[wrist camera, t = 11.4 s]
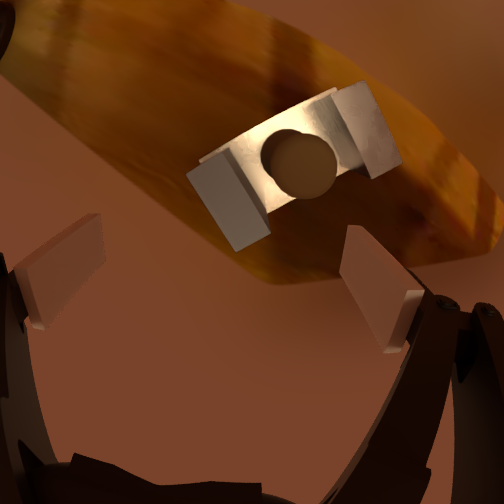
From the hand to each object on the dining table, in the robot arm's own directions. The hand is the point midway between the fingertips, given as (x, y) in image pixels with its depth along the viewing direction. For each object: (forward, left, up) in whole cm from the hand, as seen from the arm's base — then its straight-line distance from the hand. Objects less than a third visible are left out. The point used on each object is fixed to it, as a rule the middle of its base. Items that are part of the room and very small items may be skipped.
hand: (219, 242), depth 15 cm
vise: (0, +6, -19) cm, 20 cm away
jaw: (0, 0, -18) cm, 18 cm away
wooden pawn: (0, +6, -18) cm, 19 cm away
